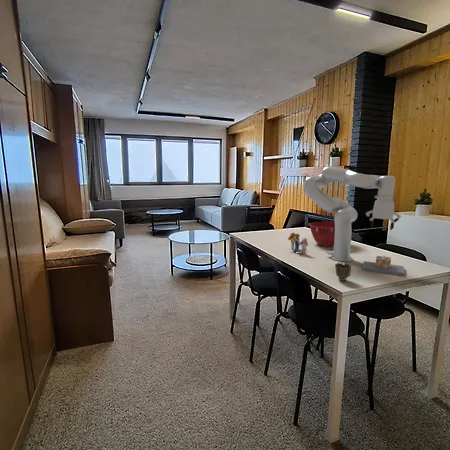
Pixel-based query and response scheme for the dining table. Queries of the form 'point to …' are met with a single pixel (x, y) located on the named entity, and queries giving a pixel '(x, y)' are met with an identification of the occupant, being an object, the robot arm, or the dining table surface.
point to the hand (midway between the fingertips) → (381, 228)
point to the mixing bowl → (323, 232)
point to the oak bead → (383, 262)
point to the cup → (342, 271)
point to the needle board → (393, 269)
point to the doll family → (295, 239)
